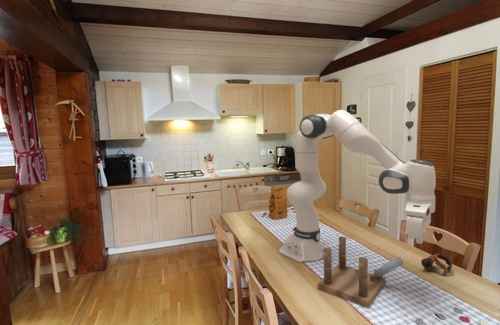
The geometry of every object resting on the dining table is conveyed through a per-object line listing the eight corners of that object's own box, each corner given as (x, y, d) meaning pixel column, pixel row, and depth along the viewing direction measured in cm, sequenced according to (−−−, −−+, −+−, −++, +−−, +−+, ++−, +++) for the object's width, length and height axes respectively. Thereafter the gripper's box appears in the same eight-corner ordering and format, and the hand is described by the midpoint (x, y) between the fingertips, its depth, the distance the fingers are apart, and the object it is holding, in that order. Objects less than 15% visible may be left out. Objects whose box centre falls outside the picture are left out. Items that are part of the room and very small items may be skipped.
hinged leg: (372, 272, 112) (396, 258, 106) (375, 269, 115) (398, 255, 108) (378, 279, 111) (402, 265, 105) (380, 276, 114) (404, 262, 107)
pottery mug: (434, 264, 128) (445, 252, 124) (447, 282, 121) (459, 270, 116) (412, 260, 126) (422, 249, 122) (424, 279, 118) (436, 267, 114)
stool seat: (317, 288, 113) (316, 250, 110) (338, 268, 127) (338, 234, 125) (368, 308, 99) (368, 264, 97) (385, 283, 114) (386, 245, 112)
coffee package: (267, 217, 204) (266, 187, 202) (280, 213, 211) (279, 185, 208) (275, 220, 196) (274, 190, 193) (289, 217, 203) (288, 187, 200)
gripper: (416, 197, 109) (416, 231, 111) (403, 211, 94) (402, 250, 96) (435, 199, 105) (435, 235, 107) (424, 214, 90) (424, 254, 92)
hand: (419, 242), depth 101 cm, fingers closed
